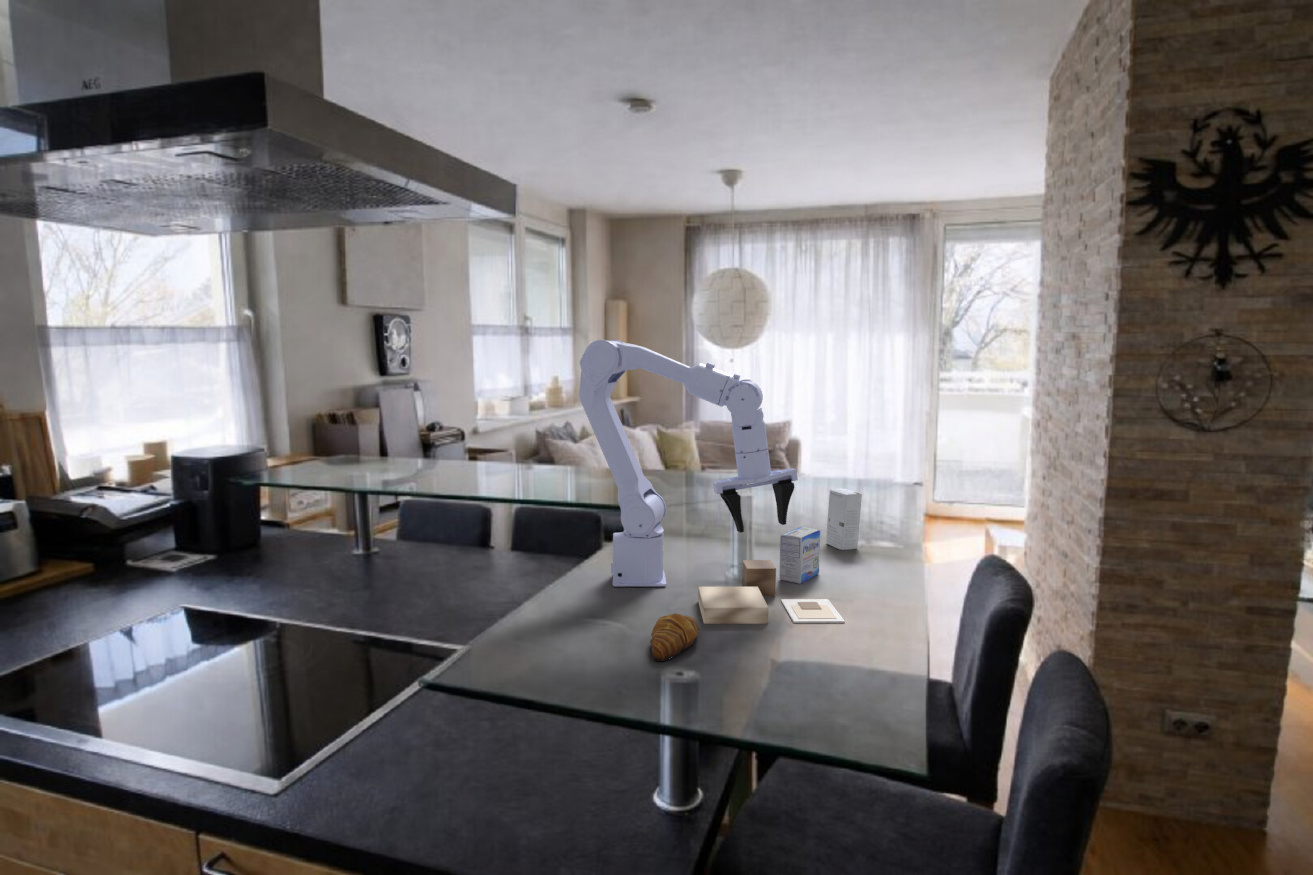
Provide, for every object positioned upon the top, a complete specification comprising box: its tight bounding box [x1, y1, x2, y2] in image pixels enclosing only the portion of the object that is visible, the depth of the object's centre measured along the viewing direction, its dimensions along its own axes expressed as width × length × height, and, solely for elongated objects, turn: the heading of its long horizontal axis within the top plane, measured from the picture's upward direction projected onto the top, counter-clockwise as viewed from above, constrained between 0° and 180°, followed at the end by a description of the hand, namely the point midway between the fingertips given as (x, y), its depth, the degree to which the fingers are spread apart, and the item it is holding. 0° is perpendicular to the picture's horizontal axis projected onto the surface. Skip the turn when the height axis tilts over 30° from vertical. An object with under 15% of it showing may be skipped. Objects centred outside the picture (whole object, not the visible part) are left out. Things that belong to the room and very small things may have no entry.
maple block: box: [697, 586, 769, 625], centre depth 122 cm, size 10×10×3 cm
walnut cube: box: [741, 559, 777, 597], centre depth 131 cm, size 5×5×5 cm
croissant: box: [649, 613, 700, 662], centre depth 108 cm, size 14×7×5 cm, turn 157°
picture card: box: [780, 598, 846, 624], centre depth 122 cm, size 8×10×1 cm
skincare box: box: [825, 487, 863, 551], centre depth 161 cm, size 6×4×12 cm
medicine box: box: [779, 526, 821, 585], centre depth 139 cm, size 8×4×9 cm, turn 143°
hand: (761, 527), depth 131 cm, fingers open, 7 cm apart
